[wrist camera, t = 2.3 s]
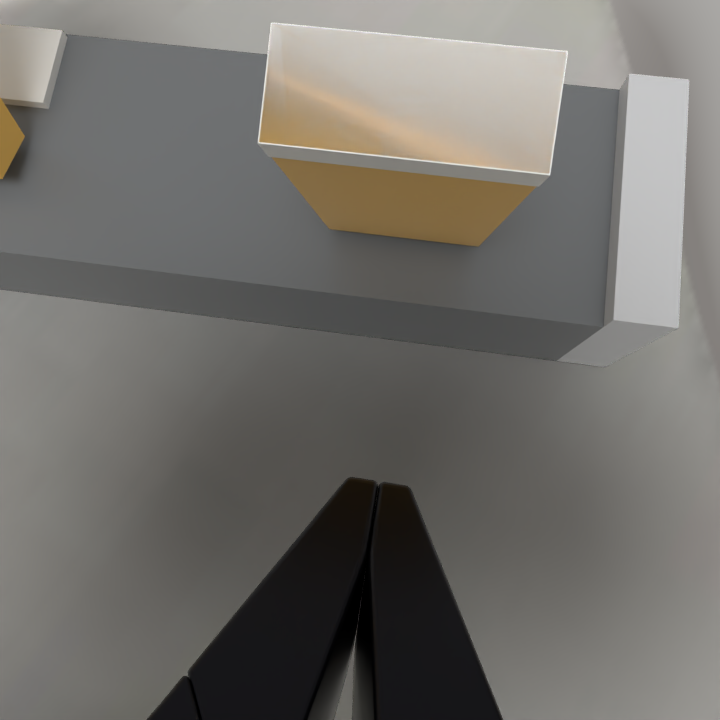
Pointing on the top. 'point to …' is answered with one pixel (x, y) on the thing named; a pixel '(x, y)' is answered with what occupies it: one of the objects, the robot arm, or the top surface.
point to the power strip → (306, 229)
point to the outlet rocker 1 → (8, 138)
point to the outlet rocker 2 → (409, 128)
